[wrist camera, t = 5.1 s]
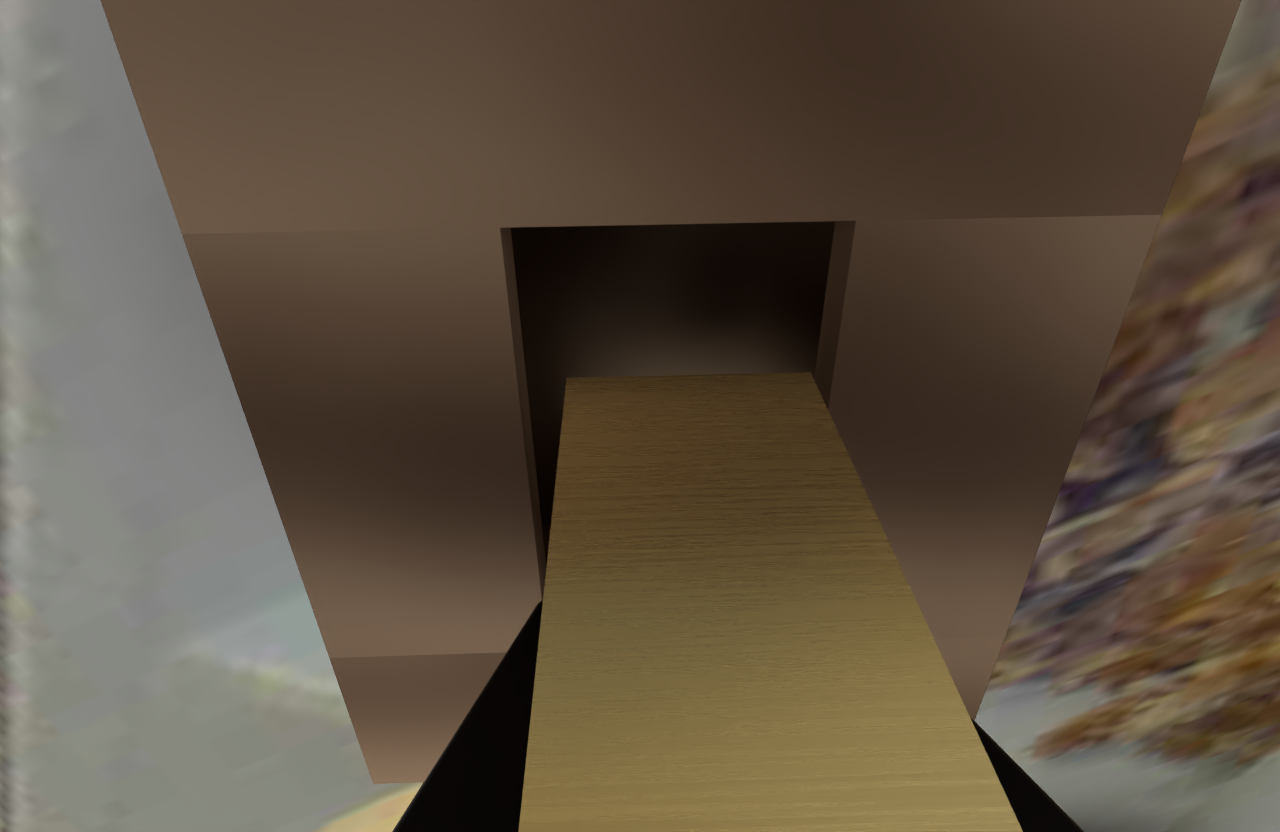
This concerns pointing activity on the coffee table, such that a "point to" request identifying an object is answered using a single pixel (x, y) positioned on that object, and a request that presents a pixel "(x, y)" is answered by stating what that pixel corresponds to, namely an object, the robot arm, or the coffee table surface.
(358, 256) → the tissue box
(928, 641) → the wooden plank piece
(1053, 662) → the coffee table surface
